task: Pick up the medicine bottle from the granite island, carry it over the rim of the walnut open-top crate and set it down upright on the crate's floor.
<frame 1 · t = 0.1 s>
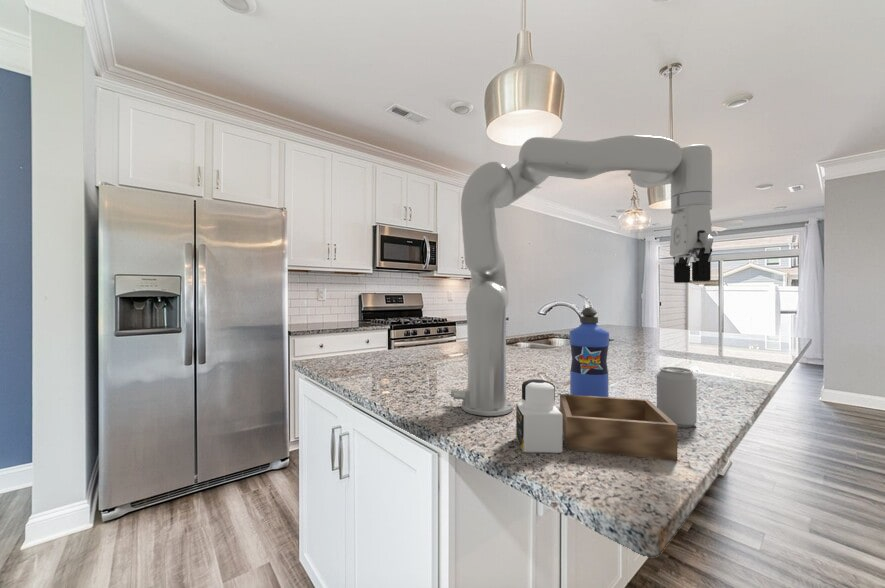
hand: (691, 281, 81), 31 cm above the worktop, tool pointing down, fingers open, 9 cm apart
medicine bottle: (538, 446, 69), on the worktop
can: (676, 423, 82), on the worktop
water bottle: (589, 407, 93), on the worktop
crate: (610, 437, 73), on the worktop
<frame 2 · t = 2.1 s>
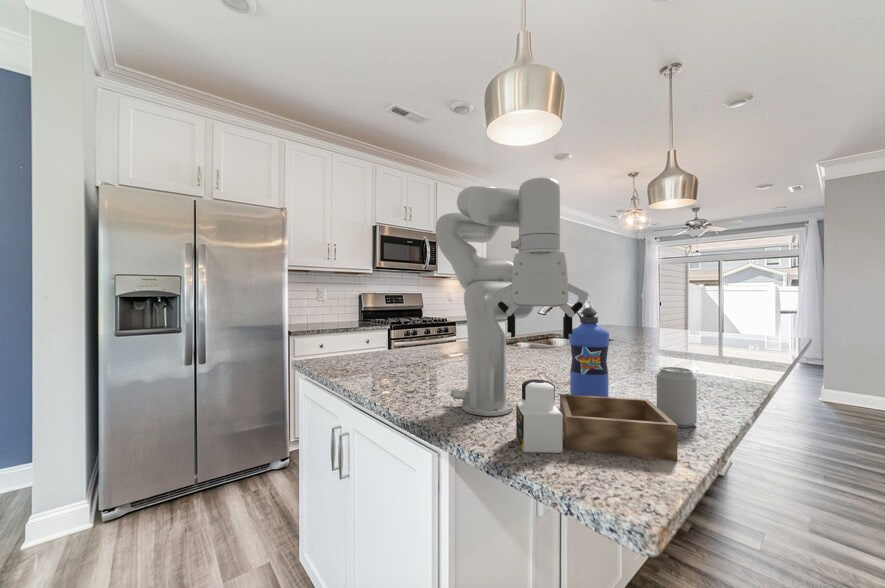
hand: (539, 337, 69), 20 cm above the worktop, tool pointing down, fingers open, 9 cm apart
nothing on the worktop moved.
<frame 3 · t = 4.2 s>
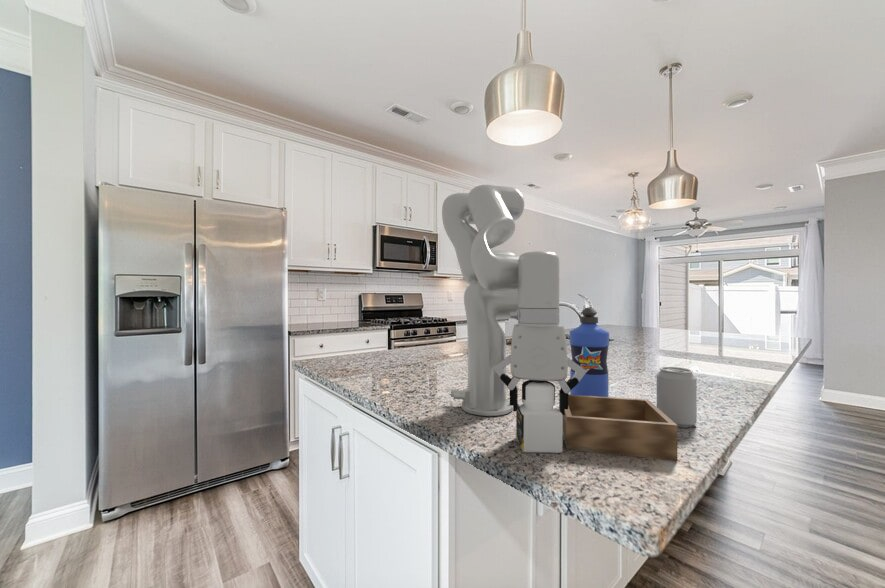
hand: (538, 410, 69), 6 cm above the worktop, tool pointing down, fingers closed on medicine bottle, 8 cm apart
medicine bottle: (538, 446, 69), on the worktop, touching gripper
everything else where it was.
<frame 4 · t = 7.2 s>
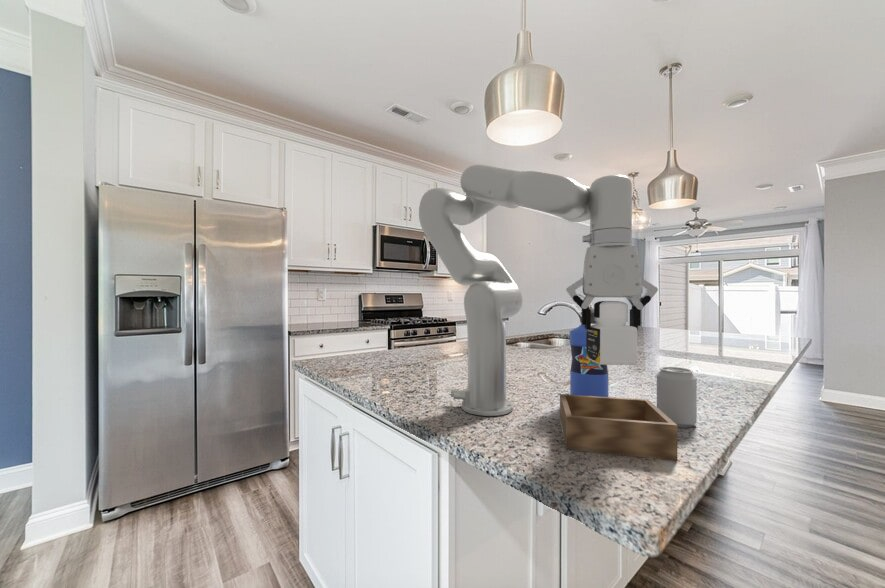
hand: (610, 328, 73), 22 cm above the worktop, tool pointing down, fingers closed on medicine bottle, 8 cm apart
medicine bottle: (610, 362, 73), point 15 cm above the worktop, touching gripper
everything else where it was.
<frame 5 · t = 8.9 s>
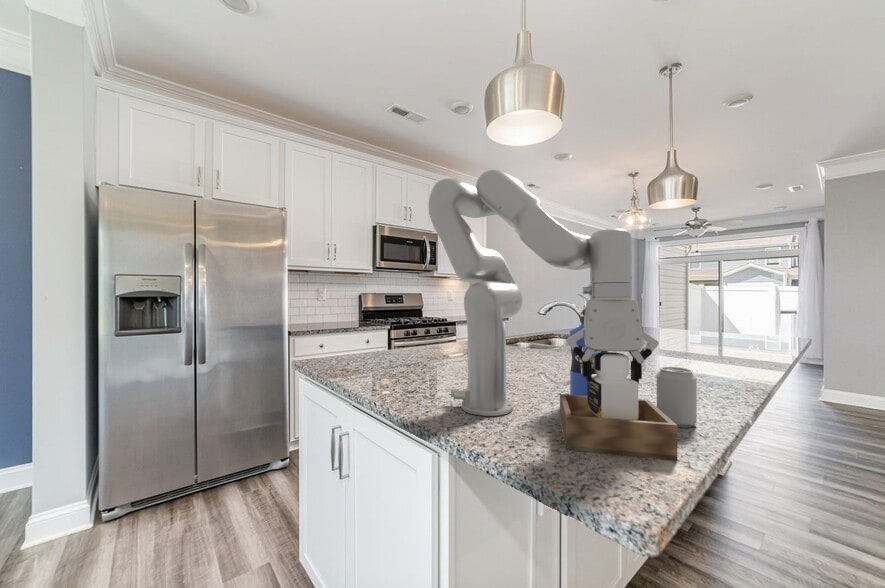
hand: (611, 381, 73), 11 cm above the worktop, tool pointing down, fingers closed on medicine bottle, 8 cm apart
medicine bottle: (611, 415, 72), point 5 cm above the worktop, touching gripper
everything else where it was.
when the fingers open (9 cm above the worktop, at t = 10.5 s): medicine bottle drops 1 cm, resting on crate.
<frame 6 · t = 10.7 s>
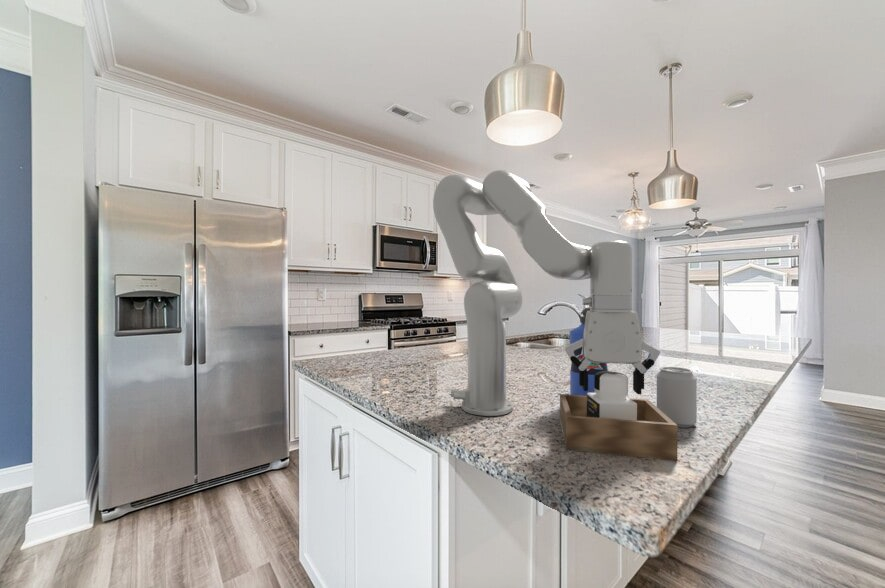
hand: (610, 390, 73), 9 cm above the worktop, tool pointing down, fingers open, 9 cm apart
medicine bottle: (610, 434, 73), point 1 cm above the worktop, touching crate
everything else where it was.
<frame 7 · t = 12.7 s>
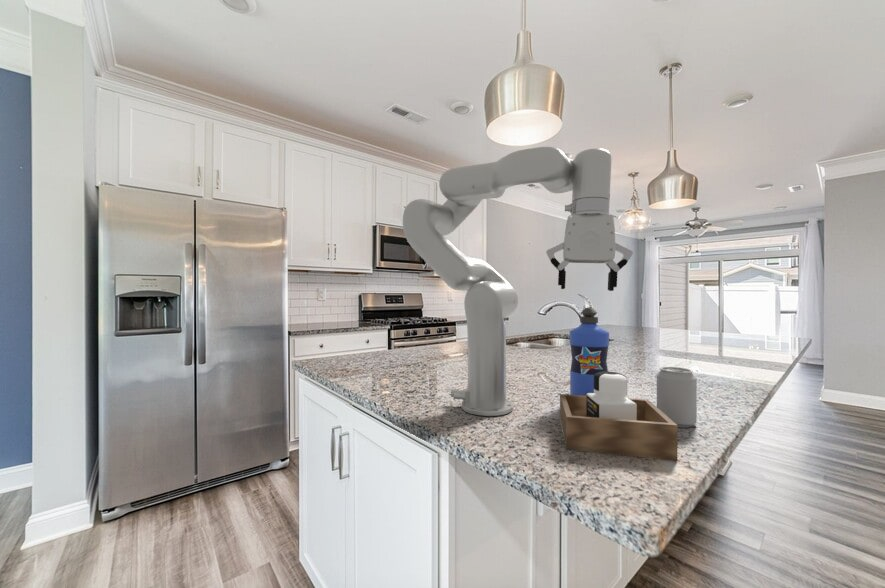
hand: (586, 289, 79), 29 cm above the worktop, tool pointing down, fingers open, 9 cm apart
nothing on the worktop moved.
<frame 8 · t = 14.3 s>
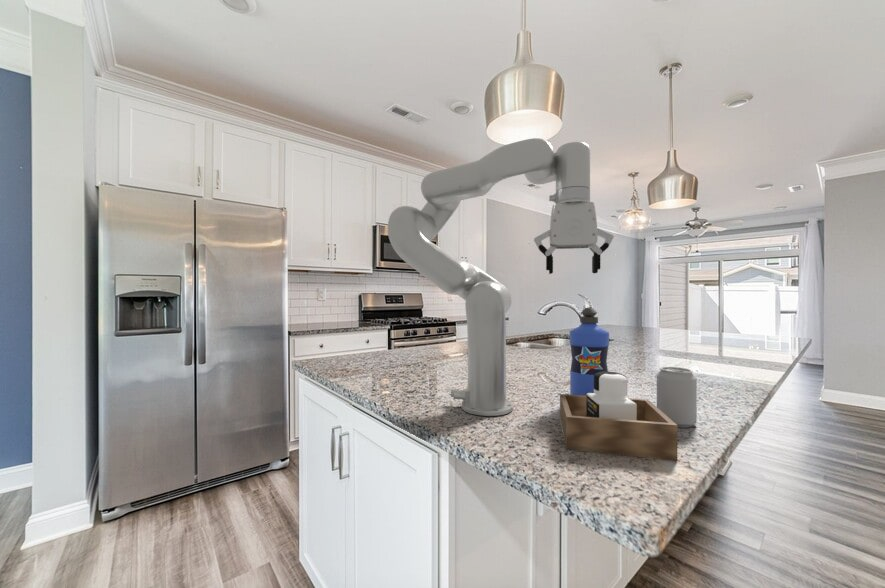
hand: (572, 273, 85), 33 cm above the worktop, tool pointing down, fingers open, 9 cm apart
nothing on the worktop moved.
at the end: medicine bottle inside the target area on the crate (0.1 cm from its centre), point 0.6 cm above the crate's base; medicine bottle tilted 0°; the gripper is holding nothing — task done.
